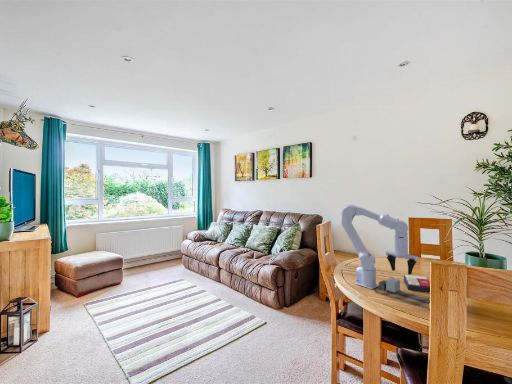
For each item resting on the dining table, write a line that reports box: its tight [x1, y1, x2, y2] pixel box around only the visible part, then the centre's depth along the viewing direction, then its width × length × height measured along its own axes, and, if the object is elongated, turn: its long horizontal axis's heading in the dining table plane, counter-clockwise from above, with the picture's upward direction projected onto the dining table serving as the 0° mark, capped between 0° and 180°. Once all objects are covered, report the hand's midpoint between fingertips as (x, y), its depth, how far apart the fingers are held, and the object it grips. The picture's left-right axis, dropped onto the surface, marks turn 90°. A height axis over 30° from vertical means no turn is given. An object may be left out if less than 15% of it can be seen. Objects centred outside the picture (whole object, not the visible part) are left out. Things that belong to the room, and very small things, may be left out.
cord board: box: [374, 280, 430, 310], centre depth 114 cm, size 25×10×4 cm, turn 37°
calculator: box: [403, 274, 431, 294], centre depth 128 cm, size 11×4×15 cm
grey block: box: [385, 277, 401, 293], centre depth 119 cm, size 4×6×5 cm
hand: (401, 272), depth 122 cm, fingers open, 7 cm apart
